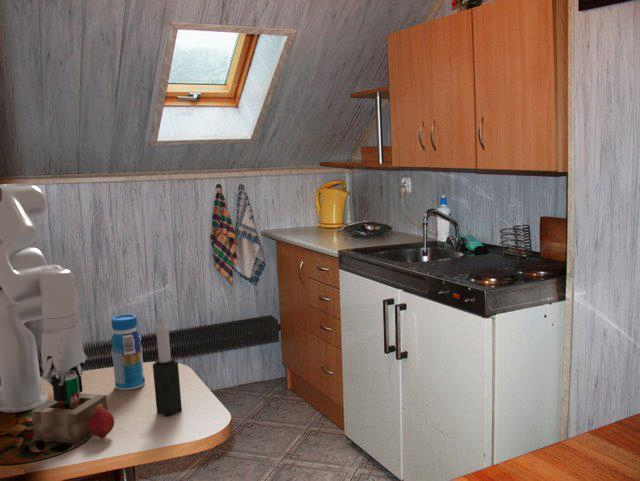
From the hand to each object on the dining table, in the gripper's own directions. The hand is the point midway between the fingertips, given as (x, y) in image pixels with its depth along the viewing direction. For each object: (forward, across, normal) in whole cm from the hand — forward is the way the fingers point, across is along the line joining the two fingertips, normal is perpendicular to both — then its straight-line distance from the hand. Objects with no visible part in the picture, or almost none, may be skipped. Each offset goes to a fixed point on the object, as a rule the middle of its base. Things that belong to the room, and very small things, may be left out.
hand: (68, 395), depth 158 cm
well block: (+9, 0, 0) cm, 9 cm away
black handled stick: (+9, -14, +18) cm, 25 cm away
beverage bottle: (+9, -30, -3) cm, 31 cm away
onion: (+9, +2, +10) cm, 14 cm away
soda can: (+7, 0, 0) cm, 7 cm away
